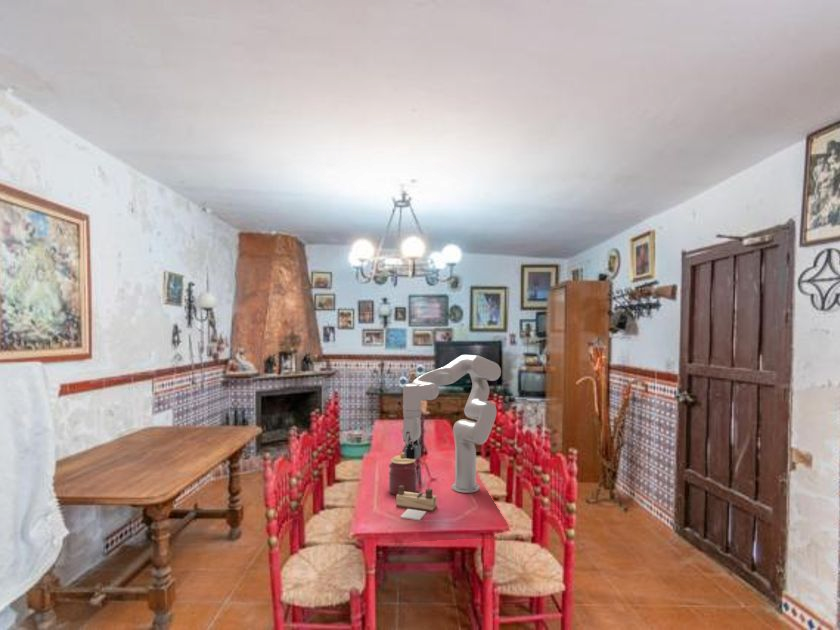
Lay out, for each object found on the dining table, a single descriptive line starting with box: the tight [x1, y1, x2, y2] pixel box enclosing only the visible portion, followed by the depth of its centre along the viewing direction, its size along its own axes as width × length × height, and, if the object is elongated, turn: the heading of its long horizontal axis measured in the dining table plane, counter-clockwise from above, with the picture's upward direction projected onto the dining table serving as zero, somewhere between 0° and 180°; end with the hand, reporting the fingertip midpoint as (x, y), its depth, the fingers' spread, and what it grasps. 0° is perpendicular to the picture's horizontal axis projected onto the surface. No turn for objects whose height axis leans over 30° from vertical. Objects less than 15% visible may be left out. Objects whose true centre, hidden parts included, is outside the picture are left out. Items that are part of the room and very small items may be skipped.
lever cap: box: [403, 443, 422, 460], centre depth 196 cm, size 5×6×6 cm
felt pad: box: [399, 508, 427, 522], centre depth 186 cm, size 8×8×1 cm
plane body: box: [395, 485, 438, 512], centre depth 195 cm, size 6×16×8 cm, turn 70°
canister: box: [388, 451, 418, 496], centre depth 213 cm, size 13×13×18 cm
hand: (412, 456), depth 196 cm, fingers closed on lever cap, 5 cm apart
